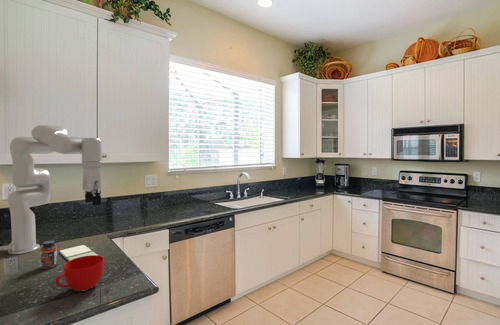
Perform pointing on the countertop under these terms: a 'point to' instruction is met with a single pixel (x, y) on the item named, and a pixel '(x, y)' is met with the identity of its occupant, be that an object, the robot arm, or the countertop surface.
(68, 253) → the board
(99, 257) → the ceramic cup
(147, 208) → the countertop surface
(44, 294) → the countertop surface
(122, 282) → the countertop surface
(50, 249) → the supplement bottle
